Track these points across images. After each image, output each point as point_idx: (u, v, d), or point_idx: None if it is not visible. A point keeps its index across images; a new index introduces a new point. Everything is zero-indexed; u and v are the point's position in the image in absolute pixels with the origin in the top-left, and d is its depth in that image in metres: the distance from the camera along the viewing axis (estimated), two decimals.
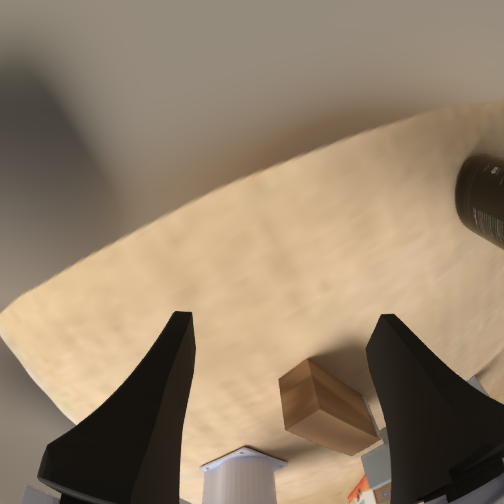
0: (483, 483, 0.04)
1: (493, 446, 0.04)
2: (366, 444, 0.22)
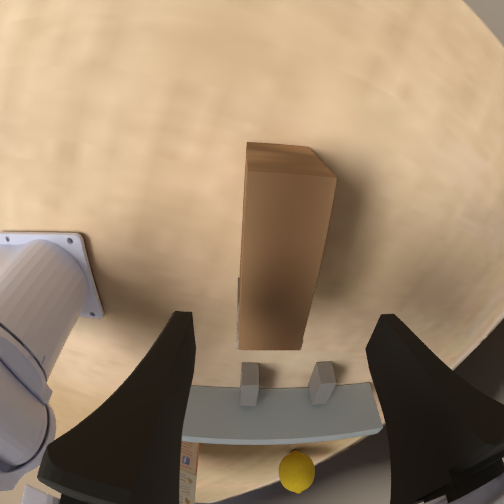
0: (483, 483, 0.04)
1: (493, 446, 0.04)
2: (278, 341, 0.16)
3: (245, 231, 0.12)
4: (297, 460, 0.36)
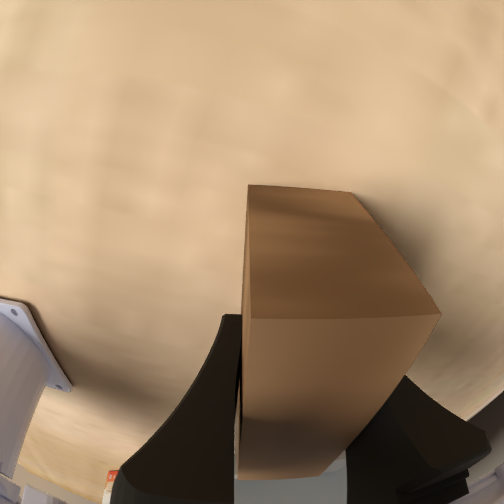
0: None
1: (440, 471, 0.04)
2: (292, 474, 0.09)
3: (246, 402, 0.06)
4: None
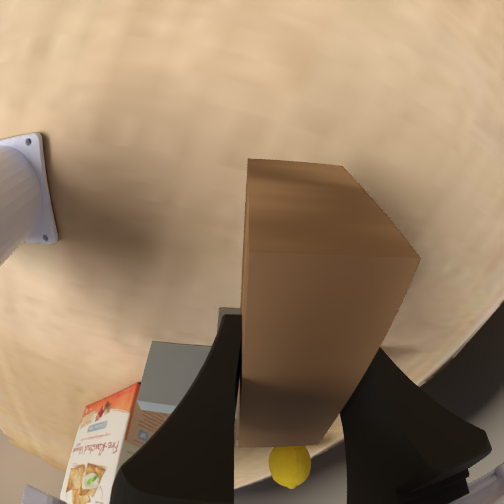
0: None
1: (440, 471, 0.04)
2: (291, 440, 0.10)
3: (246, 345, 0.07)
4: (290, 449, 0.31)
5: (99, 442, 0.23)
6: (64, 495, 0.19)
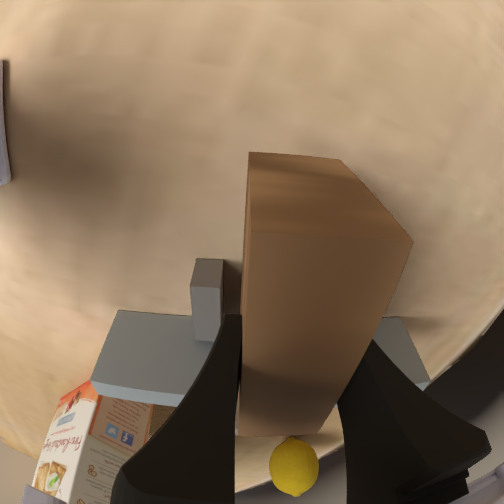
0: None
1: (440, 471, 0.04)
2: (290, 429, 0.11)
3: (247, 326, 0.07)
4: (294, 450, 0.26)
5: (64, 437, 0.18)
6: None
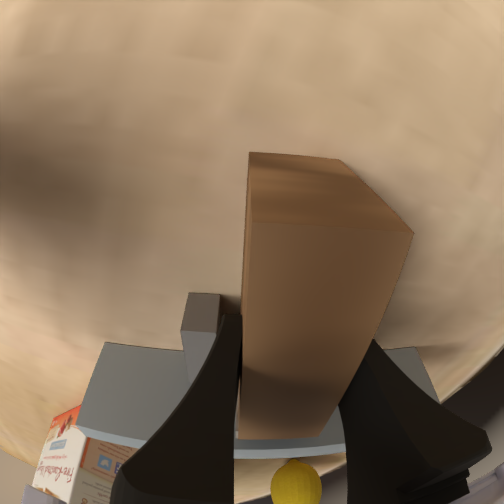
0: None
1: (441, 471, 0.04)
2: (292, 432, 0.11)
3: (247, 321, 0.07)
4: (297, 474, 0.24)
5: (56, 464, 0.15)
6: None
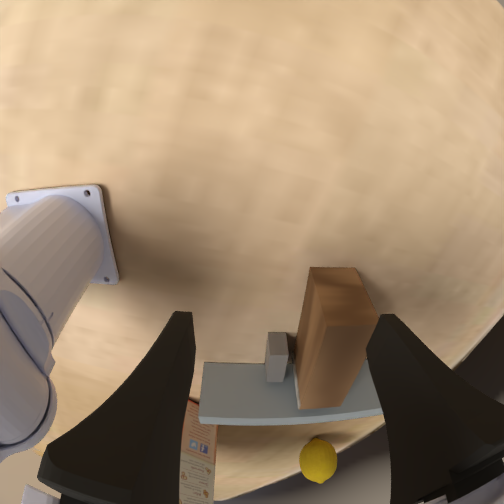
0: (483, 483, 0.04)
1: (493, 446, 0.04)
2: (327, 403, 0.21)
3: (319, 354, 0.18)
4: (319, 447, 0.34)
5: None
6: None
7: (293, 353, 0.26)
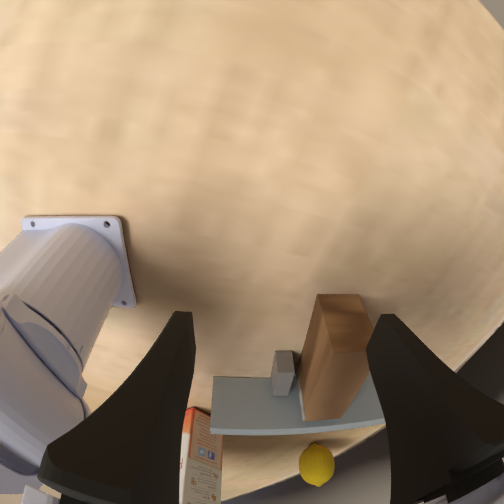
0: (483, 483, 0.04)
1: (493, 446, 0.04)
2: (329, 415, 0.23)
3: (325, 376, 0.19)
4: (318, 453, 0.36)
5: None
6: None
7: (297, 369, 0.27)
